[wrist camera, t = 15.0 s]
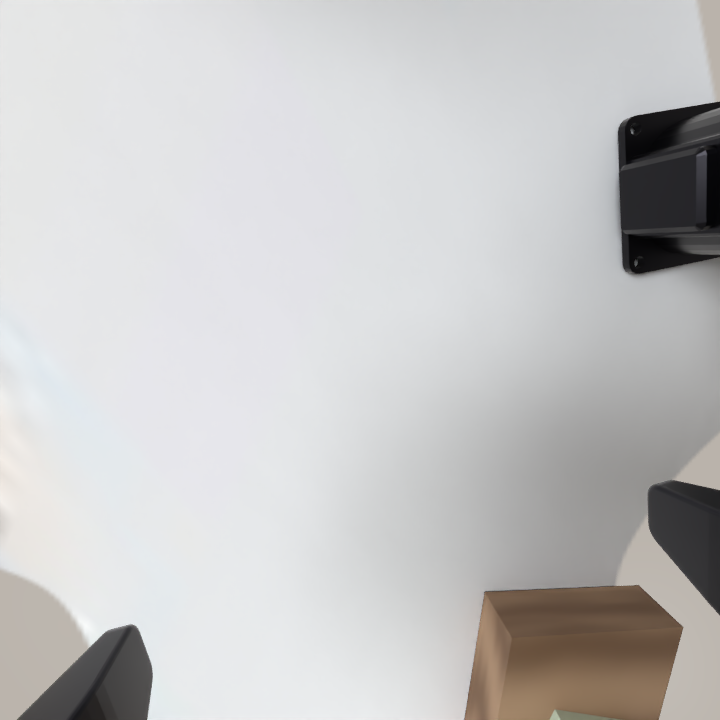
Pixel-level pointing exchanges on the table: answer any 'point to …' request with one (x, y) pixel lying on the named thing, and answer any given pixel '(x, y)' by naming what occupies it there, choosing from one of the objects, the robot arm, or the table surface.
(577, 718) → the block
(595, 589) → the plinth
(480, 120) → the table surface
